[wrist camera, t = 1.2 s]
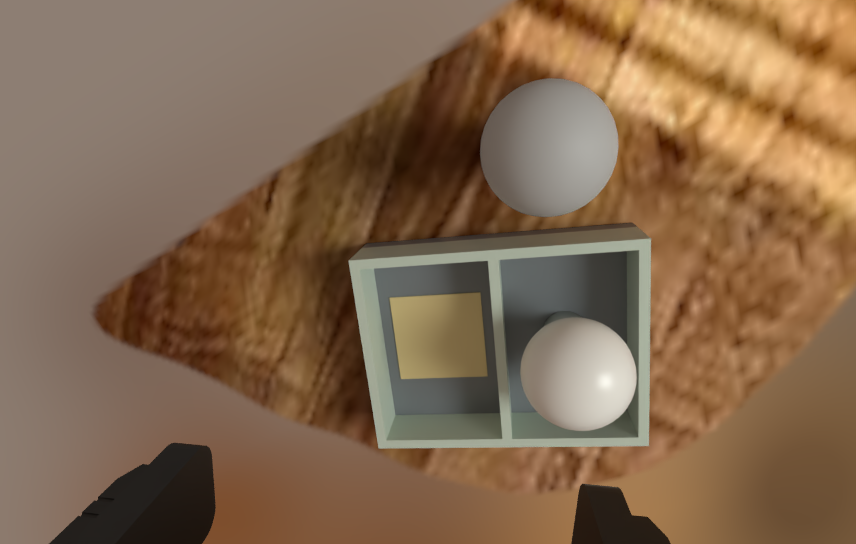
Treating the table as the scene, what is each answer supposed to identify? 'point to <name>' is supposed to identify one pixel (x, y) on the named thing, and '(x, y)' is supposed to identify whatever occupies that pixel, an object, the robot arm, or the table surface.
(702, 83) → the table surface
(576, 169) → the lightbulb
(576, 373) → the tray
